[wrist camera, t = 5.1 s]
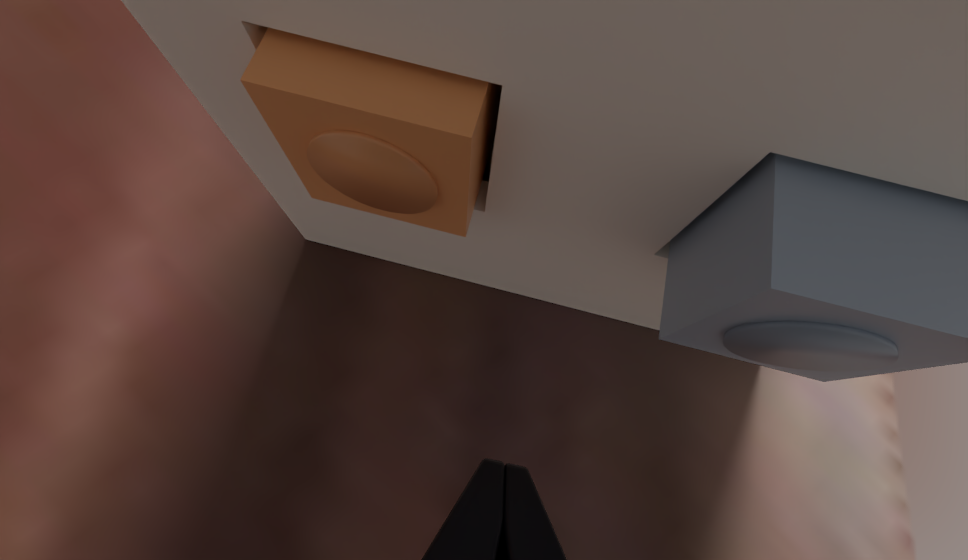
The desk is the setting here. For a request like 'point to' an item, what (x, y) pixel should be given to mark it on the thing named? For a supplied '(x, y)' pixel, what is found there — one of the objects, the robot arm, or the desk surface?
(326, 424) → the desk surface
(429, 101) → the orange button
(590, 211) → the control box
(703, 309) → the slate button
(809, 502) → the desk surface
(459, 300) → the desk surface
